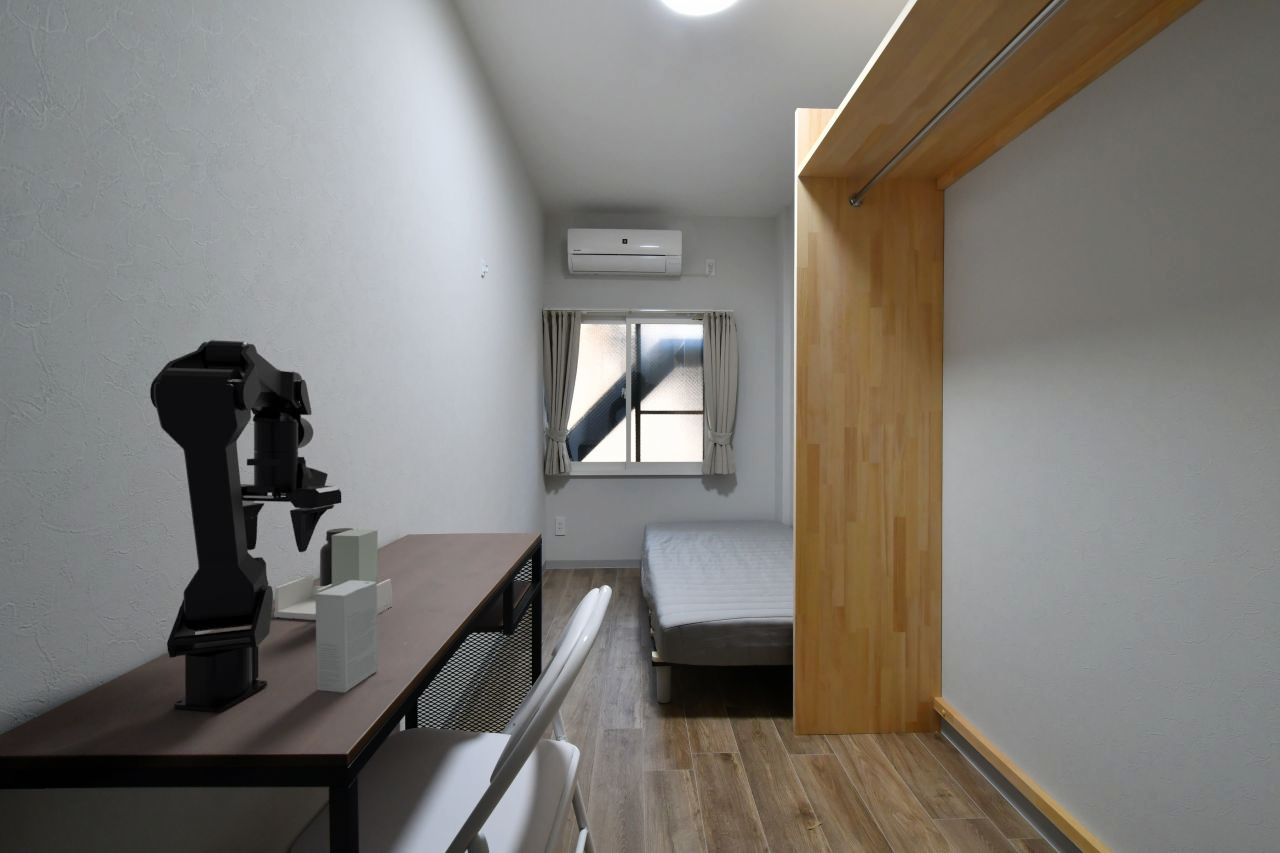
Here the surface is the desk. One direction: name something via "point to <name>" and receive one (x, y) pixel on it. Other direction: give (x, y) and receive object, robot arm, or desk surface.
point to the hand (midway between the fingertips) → (276, 550)
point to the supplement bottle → (328, 557)
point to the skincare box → (346, 635)
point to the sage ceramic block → (354, 556)
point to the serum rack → (301, 598)
